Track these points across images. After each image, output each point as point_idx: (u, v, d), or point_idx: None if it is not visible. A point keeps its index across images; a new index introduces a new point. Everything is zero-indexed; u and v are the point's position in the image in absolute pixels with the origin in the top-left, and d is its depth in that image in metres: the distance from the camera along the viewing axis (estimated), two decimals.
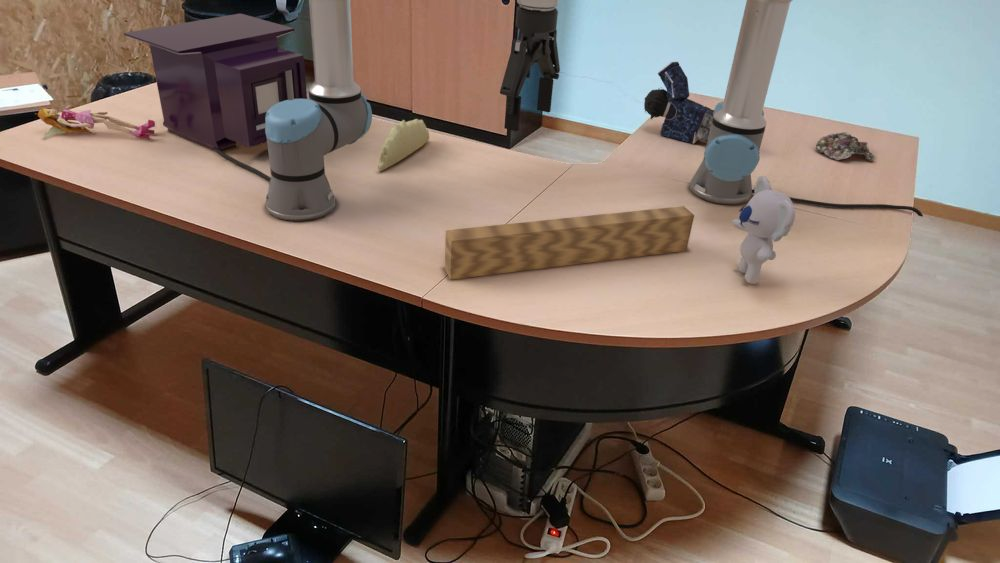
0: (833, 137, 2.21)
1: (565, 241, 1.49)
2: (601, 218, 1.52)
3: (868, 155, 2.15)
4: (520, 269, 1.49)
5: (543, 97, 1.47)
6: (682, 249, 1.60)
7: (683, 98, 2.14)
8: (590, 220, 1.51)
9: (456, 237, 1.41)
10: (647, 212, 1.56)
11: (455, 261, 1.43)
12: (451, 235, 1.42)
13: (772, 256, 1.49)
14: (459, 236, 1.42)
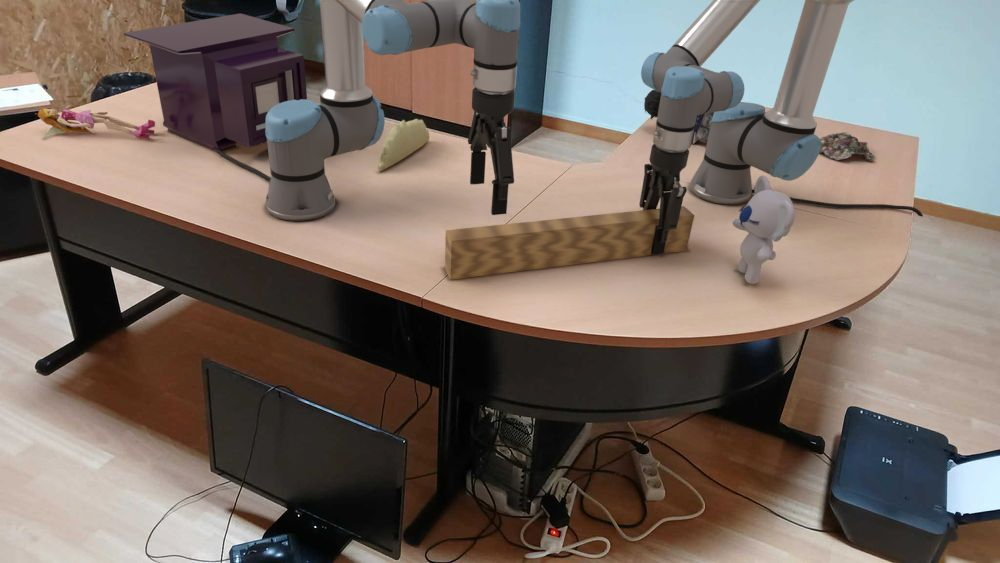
0: (833, 137, 2.21)
1: (565, 241, 1.49)
2: (601, 218, 1.52)
3: (868, 155, 2.15)
4: (520, 269, 1.49)
5: None
6: (682, 249, 1.60)
7: None
8: (590, 220, 1.51)
9: (456, 237, 1.41)
10: (647, 212, 1.56)
11: (455, 261, 1.43)
12: (451, 235, 1.42)
13: (772, 256, 1.49)
14: (459, 236, 1.42)
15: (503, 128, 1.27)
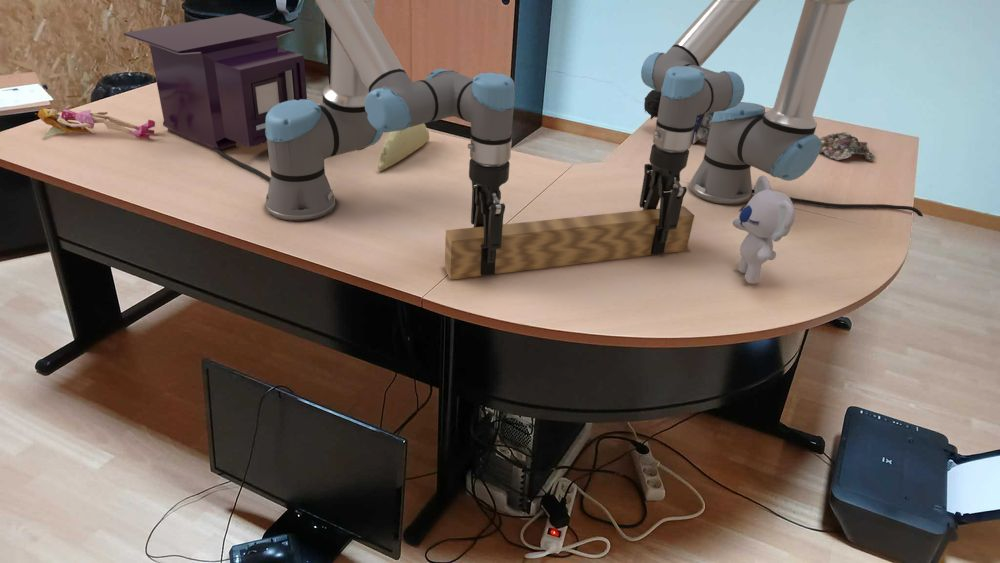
0: (833, 137, 2.21)
1: (565, 241, 1.49)
2: (601, 218, 1.52)
3: (868, 155, 2.15)
4: (520, 269, 1.49)
5: None
6: (682, 249, 1.60)
7: None
8: (590, 220, 1.51)
9: (456, 237, 1.41)
10: (647, 212, 1.56)
11: (455, 261, 1.43)
12: (451, 235, 1.42)
13: (772, 256, 1.49)
14: (459, 236, 1.42)
15: (498, 207, 1.34)
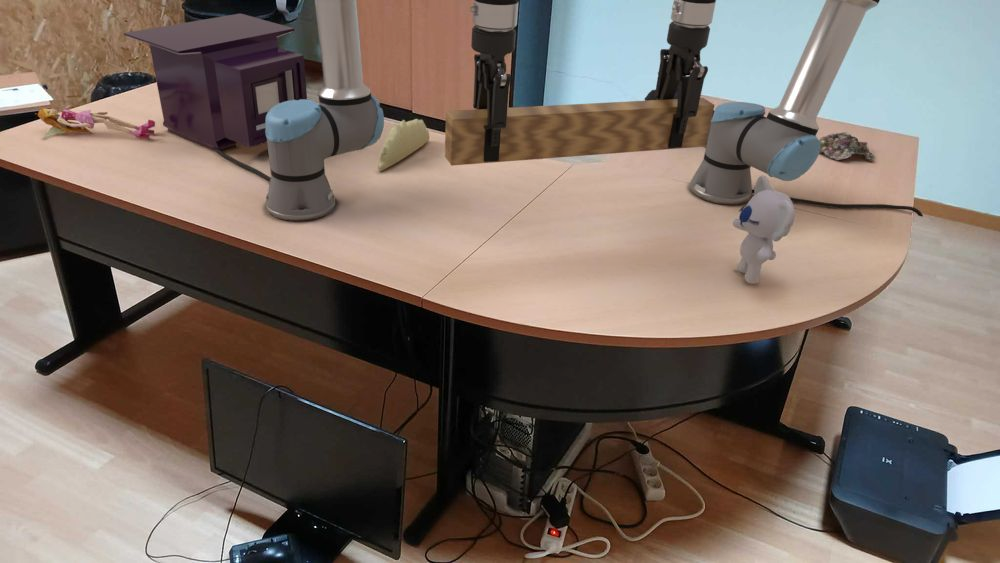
0: (833, 137, 2.21)
1: (575, 128, 1.37)
2: (614, 105, 1.41)
3: (868, 155, 2.15)
4: (527, 157, 1.38)
5: None
6: (701, 144, 1.49)
7: None
8: (602, 106, 1.39)
9: (458, 116, 1.30)
10: (663, 101, 1.44)
11: (456, 144, 1.31)
12: (452, 115, 1.30)
13: (772, 256, 1.49)
14: (461, 116, 1.30)
15: (503, 77, 1.23)
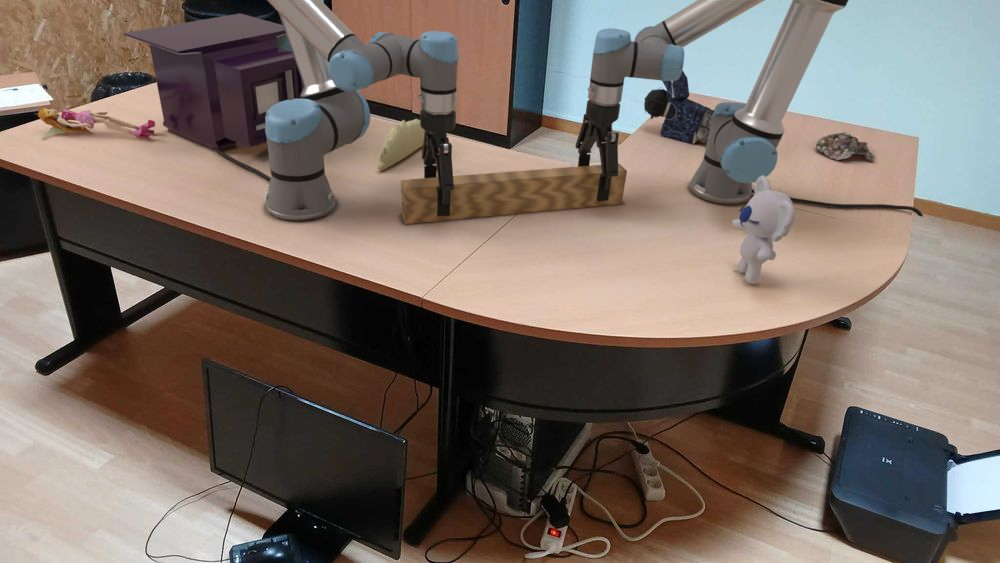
0: (833, 137, 2.21)
1: (508, 192, 1.67)
2: (542, 172, 1.71)
3: (868, 155, 2.15)
4: (469, 216, 1.67)
5: None
6: (617, 202, 1.79)
7: (683, 98, 2.14)
8: (531, 174, 1.69)
9: (410, 185, 1.60)
10: (584, 168, 1.74)
11: (409, 207, 1.61)
12: (405, 184, 1.61)
13: (772, 256, 1.49)
14: (413, 185, 1.60)
15: (445, 145, 1.51)
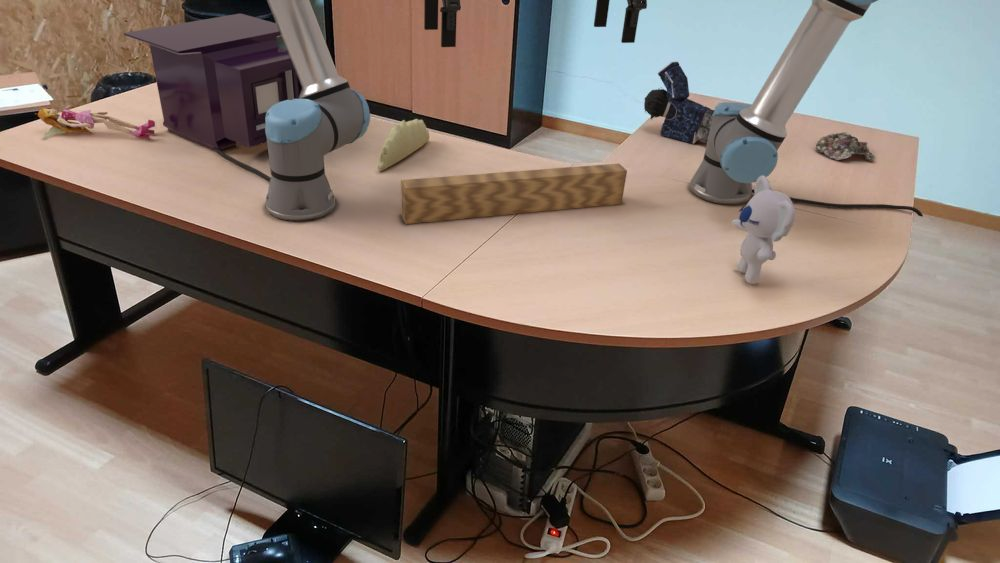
0: (833, 137, 2.21)
1: (508, 192, 1.67)
2: (542, 172, 1.71)
3: (868, 155, 2.15)
4: (469, 216, 1.67)
5: None
6: (617, 202, 1.79)
7: (683, 98, 2.14)
8: (531, 174, 1.69)
9: (410, 185, 1.60)
10: (584, 168, 1.74)
11: (409, 207, 1.61)
12: (405, 184, 1.61)
13: (772, 256, 1.49)
14: (413, 185, 1.60)
15: None
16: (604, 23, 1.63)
